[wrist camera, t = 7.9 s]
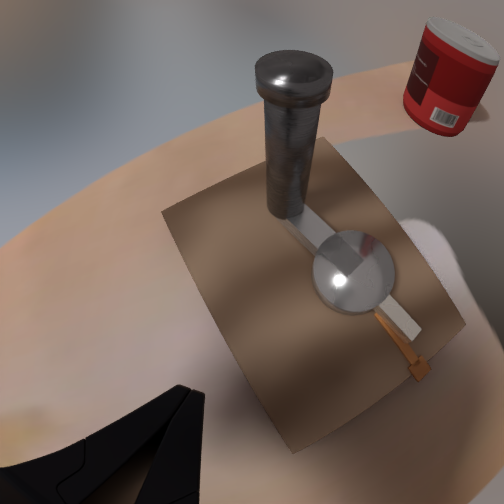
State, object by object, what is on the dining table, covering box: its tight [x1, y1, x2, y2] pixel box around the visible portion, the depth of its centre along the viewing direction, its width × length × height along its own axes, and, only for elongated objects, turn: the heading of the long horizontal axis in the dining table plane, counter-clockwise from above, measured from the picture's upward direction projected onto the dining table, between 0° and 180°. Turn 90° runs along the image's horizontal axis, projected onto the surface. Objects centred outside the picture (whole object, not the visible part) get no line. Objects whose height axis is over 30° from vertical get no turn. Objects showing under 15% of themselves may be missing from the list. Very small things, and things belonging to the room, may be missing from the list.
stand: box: [161, 137, 466, 454], centre depth 19 cm, size 19×14×2 cm
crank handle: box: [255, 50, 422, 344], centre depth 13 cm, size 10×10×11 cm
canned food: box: [403, 17, 500, 137], centre depth 22 cm, size 8×8×11 cm
